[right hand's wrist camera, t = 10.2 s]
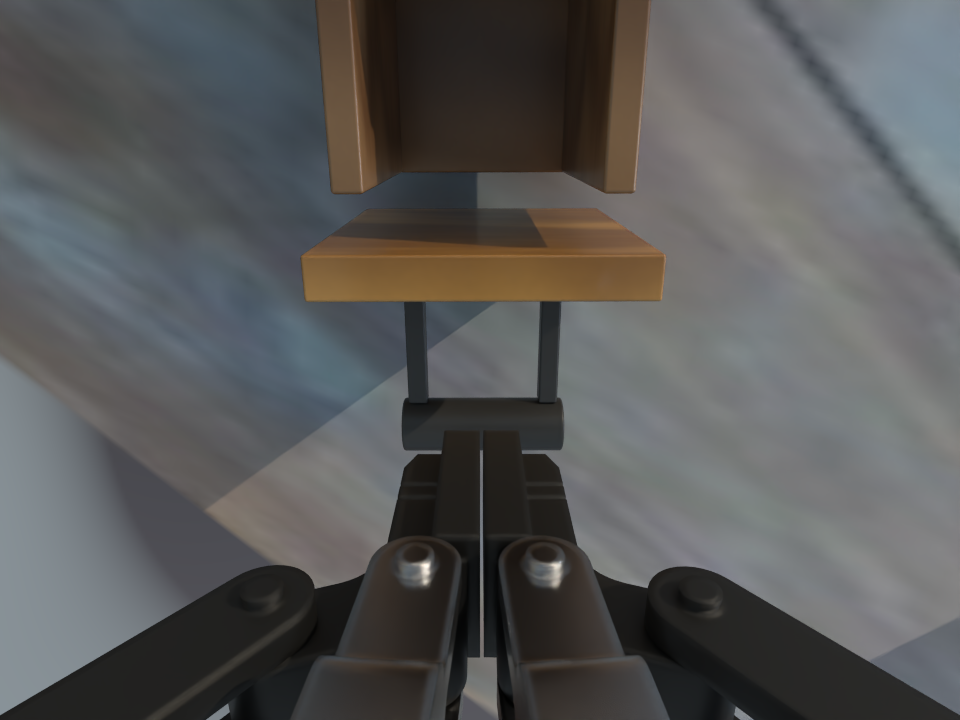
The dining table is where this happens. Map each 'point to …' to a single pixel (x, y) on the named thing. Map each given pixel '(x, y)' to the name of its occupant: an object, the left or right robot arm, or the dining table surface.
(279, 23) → the dining table surface
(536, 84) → the drawer
